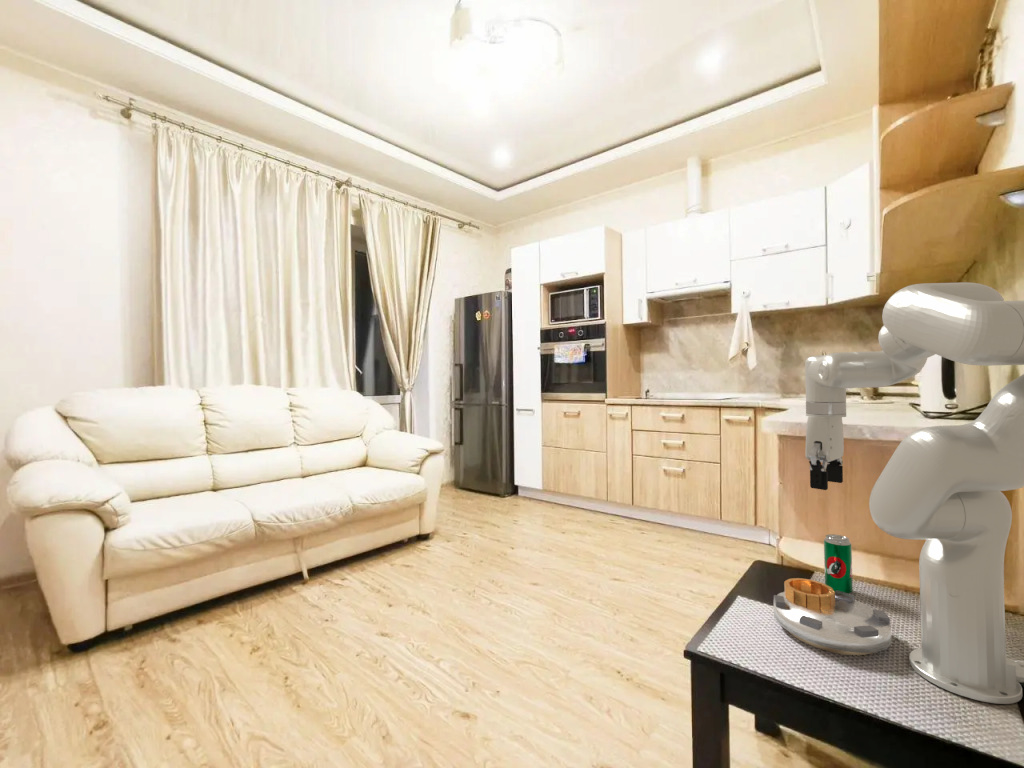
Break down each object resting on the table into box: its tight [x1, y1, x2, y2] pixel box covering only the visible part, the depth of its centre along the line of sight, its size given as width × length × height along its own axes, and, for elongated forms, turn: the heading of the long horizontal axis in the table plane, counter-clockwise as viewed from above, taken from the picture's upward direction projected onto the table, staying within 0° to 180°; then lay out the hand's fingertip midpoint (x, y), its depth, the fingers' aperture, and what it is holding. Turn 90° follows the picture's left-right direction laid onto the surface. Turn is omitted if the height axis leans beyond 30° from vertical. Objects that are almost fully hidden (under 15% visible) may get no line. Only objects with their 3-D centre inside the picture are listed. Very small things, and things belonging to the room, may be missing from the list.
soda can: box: [823, 533, 854, 594], centre depth 102 cm, size 5×5×12 cm
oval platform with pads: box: [773, 577, 892, 653], centre depth 85 cm, size 18×18×5 cm
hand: (826, 485), depth 102 cm, fingers open, 9 cm apart
